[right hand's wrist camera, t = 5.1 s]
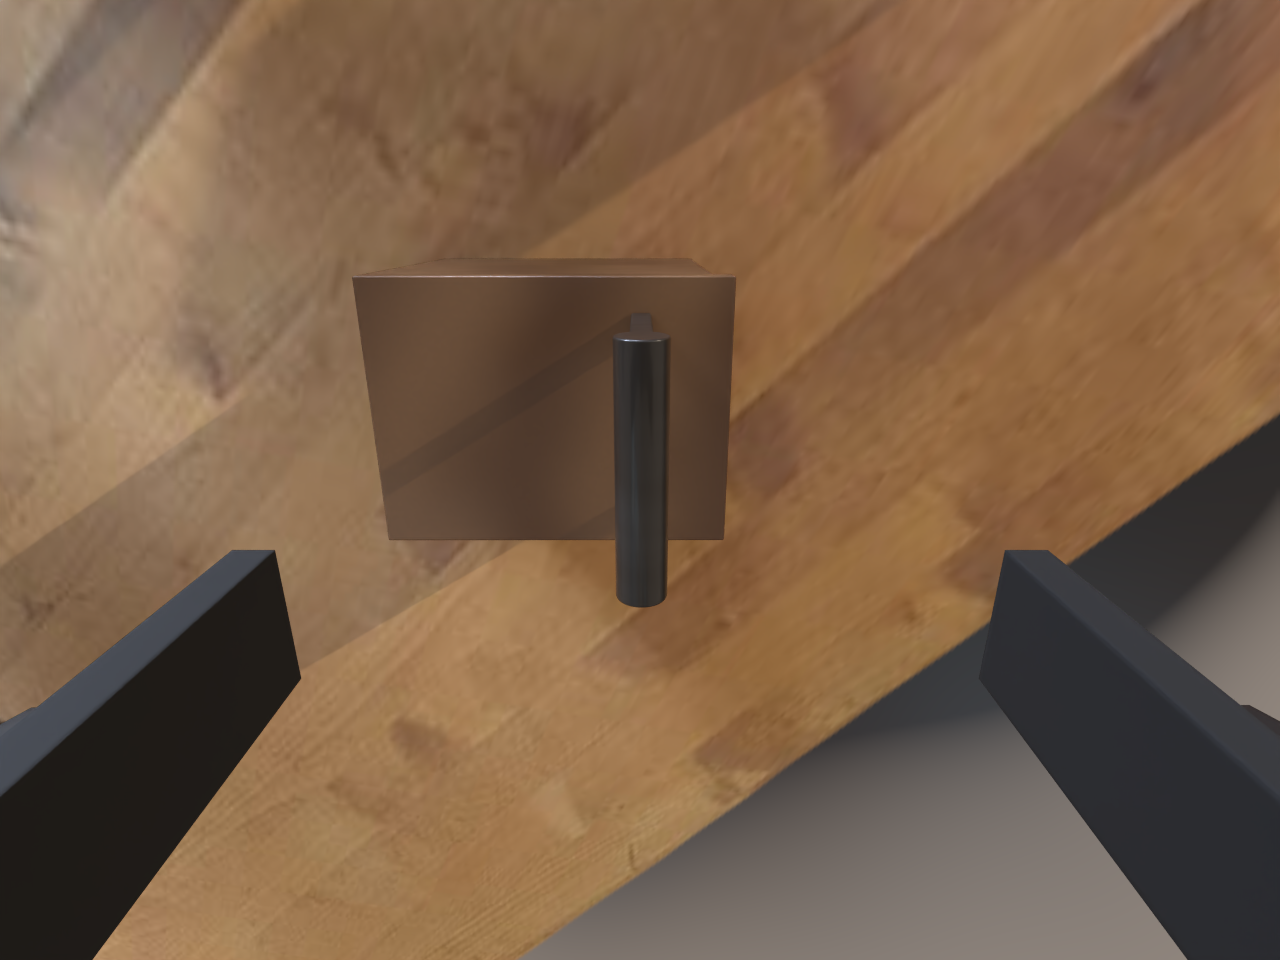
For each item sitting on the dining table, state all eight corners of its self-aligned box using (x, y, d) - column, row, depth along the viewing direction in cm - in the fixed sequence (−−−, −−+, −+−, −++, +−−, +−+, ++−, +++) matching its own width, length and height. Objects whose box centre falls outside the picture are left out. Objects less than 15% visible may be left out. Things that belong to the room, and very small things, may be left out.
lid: (732, 274, 24) (772, 296, 17) (721, 529, 28) (750, 639, 21) (362, 273, 24) (243, 296, 17) (396, 530, 28) (310, 640, 21)
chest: (691, 258, 35) (713, 273, 25) (687, 447, 38) (704, 529, 28) (444, 258, 35) (362, 274, 25) (461, 447, 38) (396, 529, 28)
